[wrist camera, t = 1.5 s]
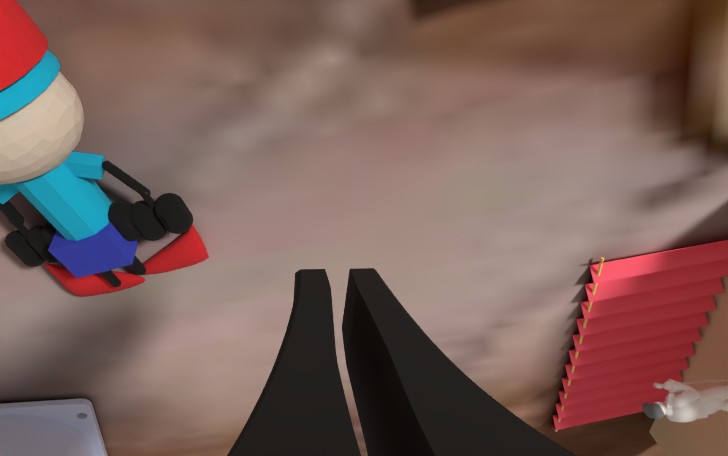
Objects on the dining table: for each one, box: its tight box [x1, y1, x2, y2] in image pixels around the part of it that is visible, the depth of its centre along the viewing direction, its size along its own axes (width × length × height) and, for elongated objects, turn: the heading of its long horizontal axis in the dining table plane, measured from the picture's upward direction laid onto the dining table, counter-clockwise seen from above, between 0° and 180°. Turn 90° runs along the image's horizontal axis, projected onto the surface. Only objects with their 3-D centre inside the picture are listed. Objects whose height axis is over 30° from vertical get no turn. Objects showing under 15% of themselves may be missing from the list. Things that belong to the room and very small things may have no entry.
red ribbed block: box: [550, 240, 728, 456], centre depth 27 cm, size 25×13×12 cm, turn 5°
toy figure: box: [0, 0, 209, 296], centre depth 17 cm, size 8×5×15 cm
